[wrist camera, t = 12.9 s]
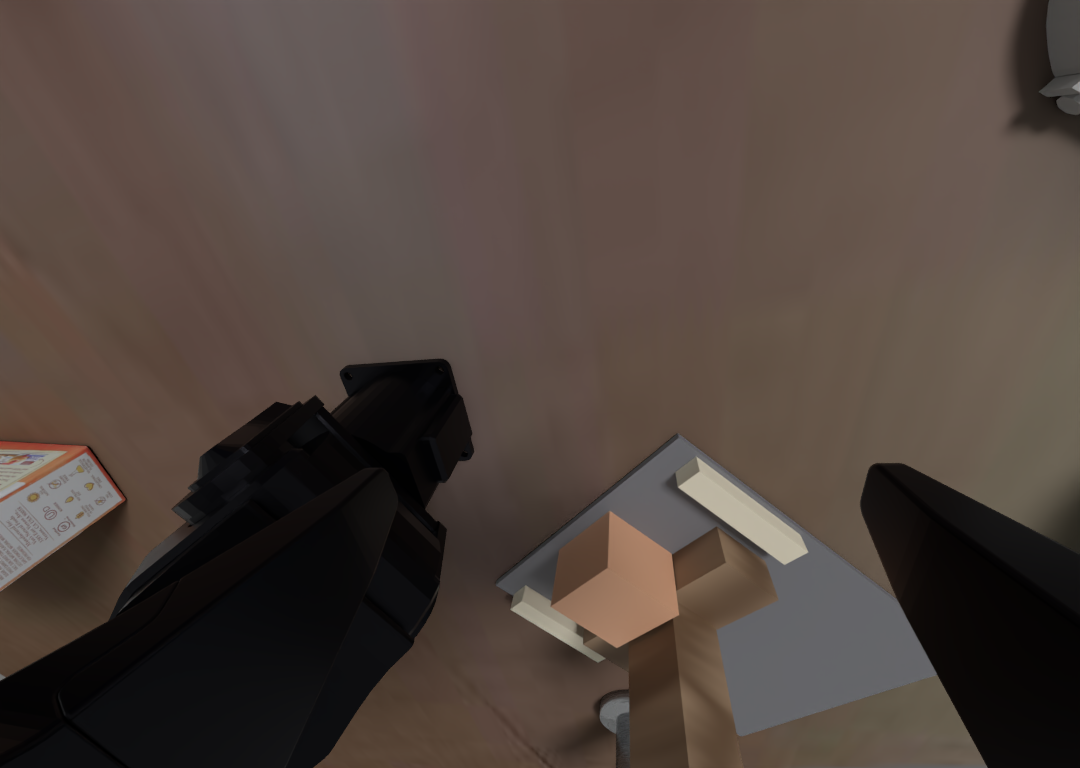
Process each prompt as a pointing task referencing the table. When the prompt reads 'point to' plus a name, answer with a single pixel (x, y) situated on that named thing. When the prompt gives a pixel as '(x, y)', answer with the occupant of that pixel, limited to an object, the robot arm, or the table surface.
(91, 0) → the table surface
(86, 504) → the cracker box
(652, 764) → the wooden block on base
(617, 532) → the terracotta block
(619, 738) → the grey metal stick
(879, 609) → the mat
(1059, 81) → the adjustable wrench
